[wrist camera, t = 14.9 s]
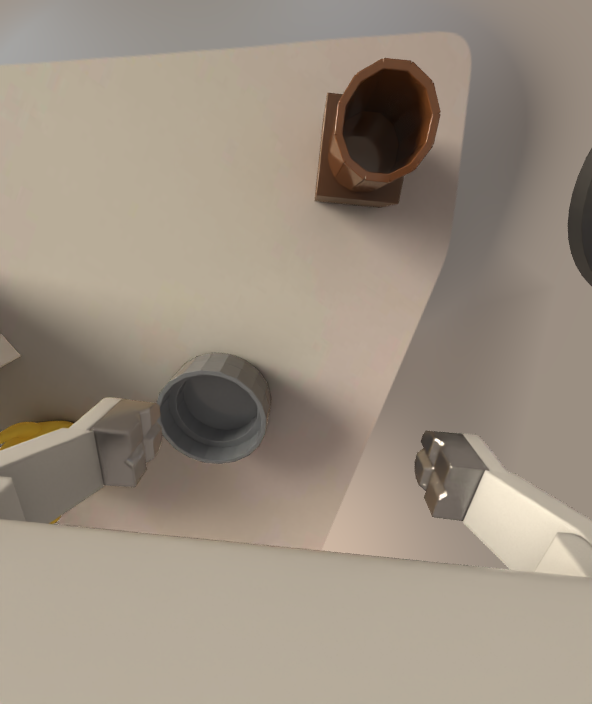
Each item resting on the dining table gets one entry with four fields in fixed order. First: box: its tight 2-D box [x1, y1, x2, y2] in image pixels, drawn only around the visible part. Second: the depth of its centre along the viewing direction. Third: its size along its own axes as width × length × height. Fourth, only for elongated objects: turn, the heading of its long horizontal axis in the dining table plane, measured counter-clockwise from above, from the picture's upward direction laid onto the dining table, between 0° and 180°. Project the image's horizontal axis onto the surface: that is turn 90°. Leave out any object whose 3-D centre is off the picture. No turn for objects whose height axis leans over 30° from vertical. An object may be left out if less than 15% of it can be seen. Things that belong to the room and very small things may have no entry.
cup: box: [328, 58, 440, 193], centre depth 23 cm, size 6×6×8 cm
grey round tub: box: [157, 353, 271, 464], centre depth 43 cm, size 14×14×6 cm
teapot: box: [0, 421, 73, 524], centre depth 45 cm, size 14×13×10 cm
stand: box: [315, 93, 404, 208], centre depth 30 cm, size 7×7×8 cm
